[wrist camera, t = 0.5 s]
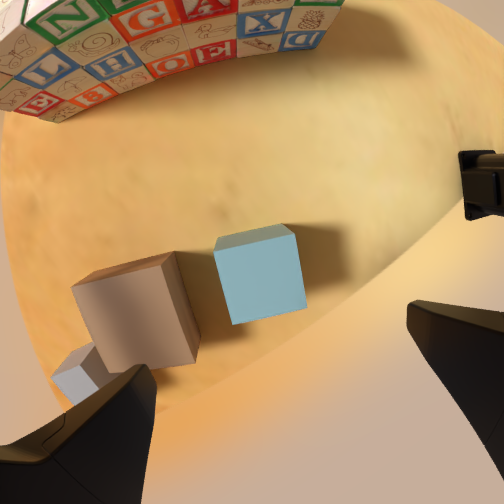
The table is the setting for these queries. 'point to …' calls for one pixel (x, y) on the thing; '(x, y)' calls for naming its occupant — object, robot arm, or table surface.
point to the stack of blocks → (135, 44)
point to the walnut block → (139, 314)
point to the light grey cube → (82, 374)
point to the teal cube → (260, 273)
